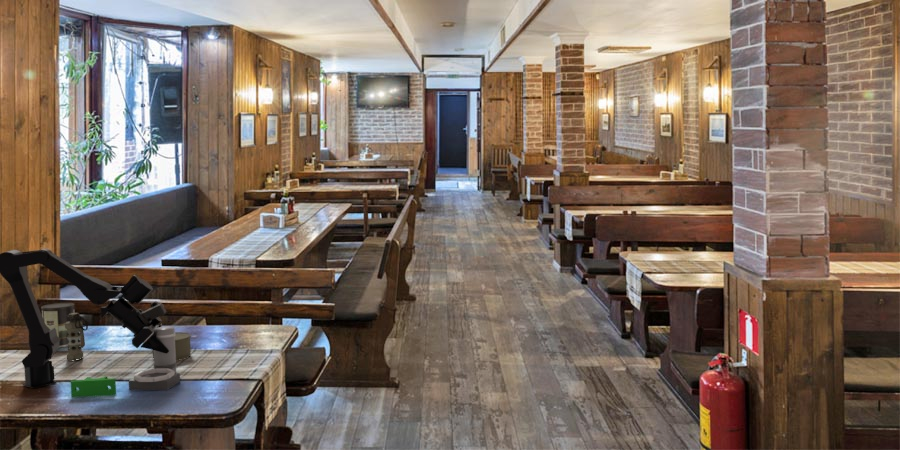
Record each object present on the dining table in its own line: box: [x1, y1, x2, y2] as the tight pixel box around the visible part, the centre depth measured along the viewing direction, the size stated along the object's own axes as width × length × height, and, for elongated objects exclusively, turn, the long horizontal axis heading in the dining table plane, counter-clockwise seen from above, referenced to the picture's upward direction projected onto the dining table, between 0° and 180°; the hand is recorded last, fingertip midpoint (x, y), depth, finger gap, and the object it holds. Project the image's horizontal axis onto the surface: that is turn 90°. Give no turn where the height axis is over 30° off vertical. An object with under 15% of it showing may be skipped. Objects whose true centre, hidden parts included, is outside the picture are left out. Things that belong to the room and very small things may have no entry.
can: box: [152, 331, 192, 361], centre depth 236 cm, size 12×12×7 cm
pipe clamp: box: [70, 375, 117, 398], centre depth 198 cm, size 11×4×5 cm, turn 97°
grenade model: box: [65, 312, 90, 361], centre depth 235 cm, size 6×7×15 cm
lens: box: [153, 326, 177, 373], centre depth 215 cm, size 6×6×14 cm
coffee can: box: [40, 302, 76, 349], centre depth 254 cm, size 10×10×14 cm
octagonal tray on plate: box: [128, 368, 181, 391], centre depth 205 cm, size 11×10×4 cm
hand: (169, 349), depth 215 cm, fingers closed on lens, 6 cm apart
